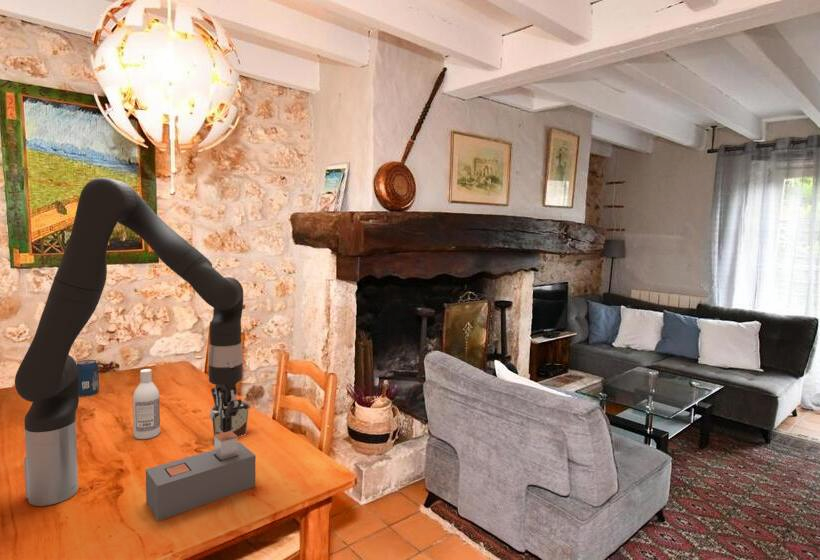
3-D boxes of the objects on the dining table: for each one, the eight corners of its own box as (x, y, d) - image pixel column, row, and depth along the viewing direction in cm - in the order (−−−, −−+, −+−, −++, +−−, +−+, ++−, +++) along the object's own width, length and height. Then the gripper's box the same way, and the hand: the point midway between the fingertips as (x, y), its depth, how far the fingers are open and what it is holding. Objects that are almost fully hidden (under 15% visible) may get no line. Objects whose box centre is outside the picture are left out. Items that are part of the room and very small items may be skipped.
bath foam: (163, 435, 141) (162, 370, 139) (138, 442, 136) (136, 375, 134) (155, 427, 146) (154, 365, 144) (130, 434, 141) (129, 369, 139)
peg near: (171, 508, 105) (171, 476, 105) (166, 500, 108) (165, 468, 107) (190, 501, 108) (190, 470, 107) (184, 493, 111) (184, 463, 110)
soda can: (78, 391, 173) (77, 359, 172) (100, 389, 176) (99, 358, 175) (74, 398, 167) (73, 365, 166) (97, 395, 170) (96, 363, 169)
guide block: (157, 521, 101) (157, 486, 100) (146, 502, 108) (145, 469, 107) (255, 486, 116) (255, 455, 115) (240, 471, 123) (240, 442, 122)
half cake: (239, 427, 149) (239, 396, 148) (250, 433, 145) (250, 402, 144) (201, 439, 140) (201, 407, 139) (212, 446, 136) (212, 413, 135)
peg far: (220, 470, 112) (220, 440, 111) (214, 464, 115) (214, 434, 114) (237, 465, 115) (237, 436, 114) (230, 459, 118) (230, 430, 117)
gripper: (199, 357, 115) (200, 425, 116) (220, 371, 105) (221, 445, 107) (230, 352, 120) (230, 418, 122) (252, 365, 110) (252, 436, 112)
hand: (226, 430), depth 114 cm, fingers closed
